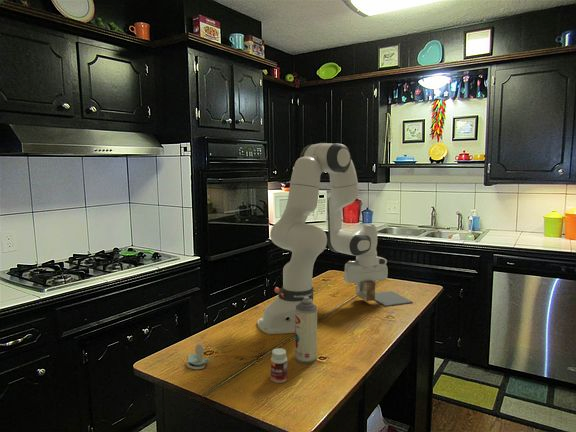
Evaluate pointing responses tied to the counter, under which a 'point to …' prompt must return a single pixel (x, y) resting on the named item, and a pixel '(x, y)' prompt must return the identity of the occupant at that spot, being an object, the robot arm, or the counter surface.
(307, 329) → the aerosol can
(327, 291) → the counter surface
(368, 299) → the wooden block
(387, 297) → the rubber mat
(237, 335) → the counter surface
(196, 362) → the pacifier
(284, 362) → the pill bottle
